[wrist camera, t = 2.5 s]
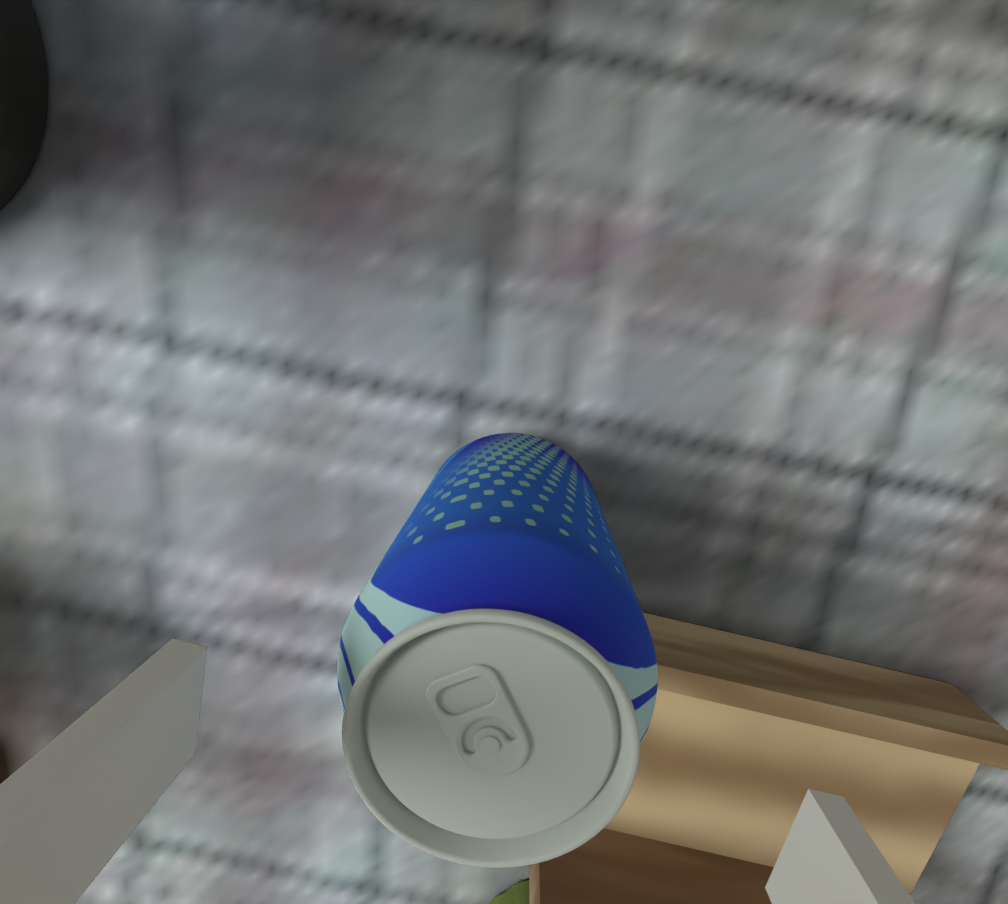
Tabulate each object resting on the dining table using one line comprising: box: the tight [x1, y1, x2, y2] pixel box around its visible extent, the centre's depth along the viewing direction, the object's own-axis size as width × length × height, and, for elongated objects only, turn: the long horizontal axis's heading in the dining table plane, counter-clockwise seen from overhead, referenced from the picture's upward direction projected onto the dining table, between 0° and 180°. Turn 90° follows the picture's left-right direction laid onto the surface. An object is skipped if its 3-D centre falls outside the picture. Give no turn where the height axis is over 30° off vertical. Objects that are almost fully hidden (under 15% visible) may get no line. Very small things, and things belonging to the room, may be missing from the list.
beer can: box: [337, 433, 658, 868], centre depth 19 cm, size 8×8×16 cm
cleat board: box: [529, 613, 1008, 904], centre depth 24 cm, size 13×20×12 cm, turn 77°
